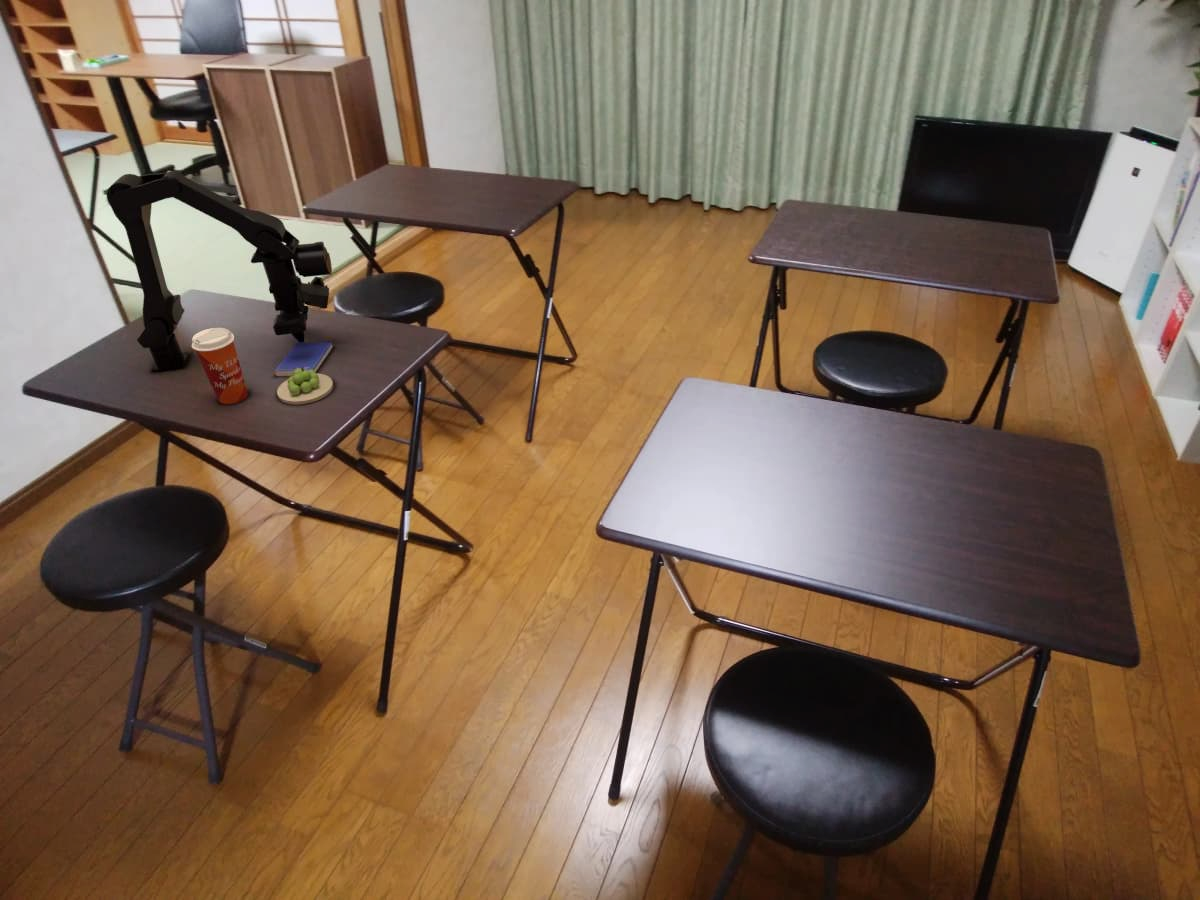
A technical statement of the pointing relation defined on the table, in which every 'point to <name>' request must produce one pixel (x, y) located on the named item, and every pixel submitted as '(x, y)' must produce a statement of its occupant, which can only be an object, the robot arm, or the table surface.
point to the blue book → (304, 357)
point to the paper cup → (221, 364)
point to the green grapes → (302, 381)
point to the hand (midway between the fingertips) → (302, 341)
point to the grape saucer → (306, 397)
